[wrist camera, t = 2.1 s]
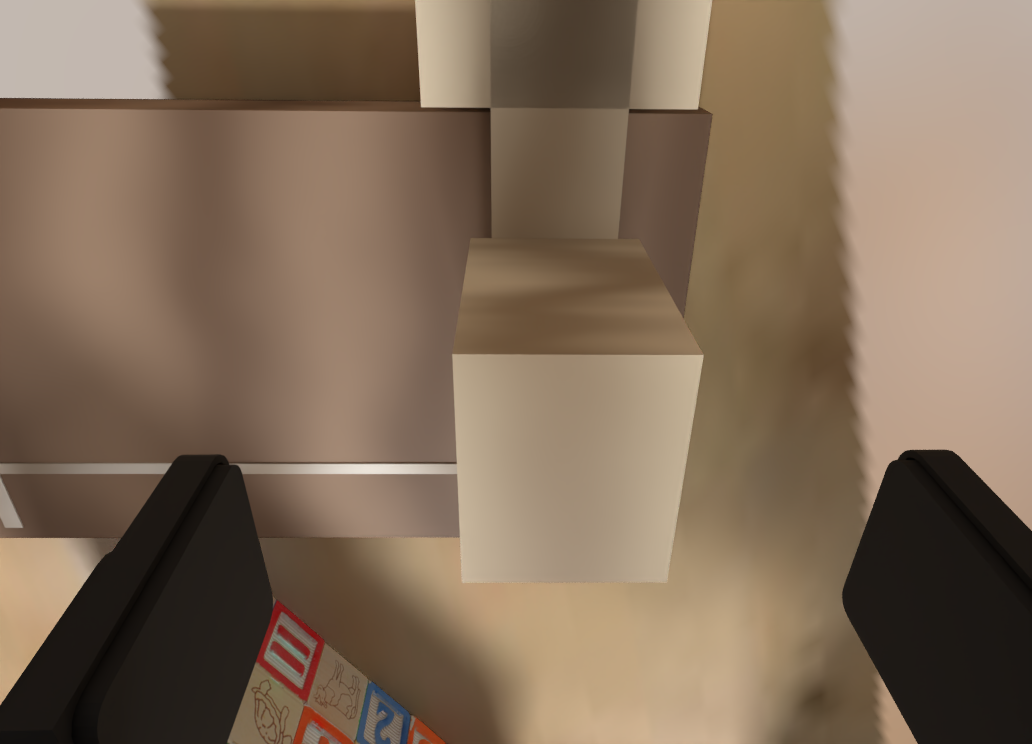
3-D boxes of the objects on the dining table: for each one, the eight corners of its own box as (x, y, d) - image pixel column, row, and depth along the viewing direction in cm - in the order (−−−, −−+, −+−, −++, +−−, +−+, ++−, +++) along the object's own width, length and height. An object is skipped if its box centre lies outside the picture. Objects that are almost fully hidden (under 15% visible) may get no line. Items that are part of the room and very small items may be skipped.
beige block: (673, -24, 17) (853, -54, 8) (621, 463, 24) (687, 725, 15) (432, -27, 17) (350, -59, 8) (454, 463, 24) (423, 726, 15)
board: (693, 103, 18) (712, 114, 17) (642, 500, 25) (652, 538, 23) (-262, 95, 18) (-347, 105, 16) (-54, 500, 25) (-98, 538, 23)
